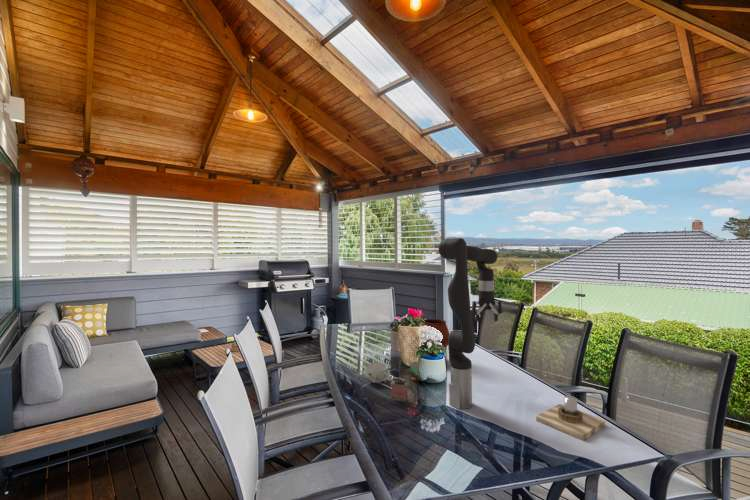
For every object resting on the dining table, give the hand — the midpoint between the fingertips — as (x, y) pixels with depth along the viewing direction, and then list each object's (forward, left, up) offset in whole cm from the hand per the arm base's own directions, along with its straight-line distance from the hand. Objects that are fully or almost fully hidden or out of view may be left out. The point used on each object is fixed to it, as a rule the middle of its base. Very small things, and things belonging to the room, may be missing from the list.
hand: (486, 321), depth 176 cm
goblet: (+7, +45, -33) cm, 56 cm away
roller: (-3, -42, -31) cm, 52 cm away
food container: (-20, +27, -33) cm, 47 cm away
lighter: (-44, +16, -33) cm, 57 cm away
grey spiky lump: (-40, +39, -33) cm, 65 cm away
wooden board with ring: (-3, -42, -33) cm, 54 cm away
